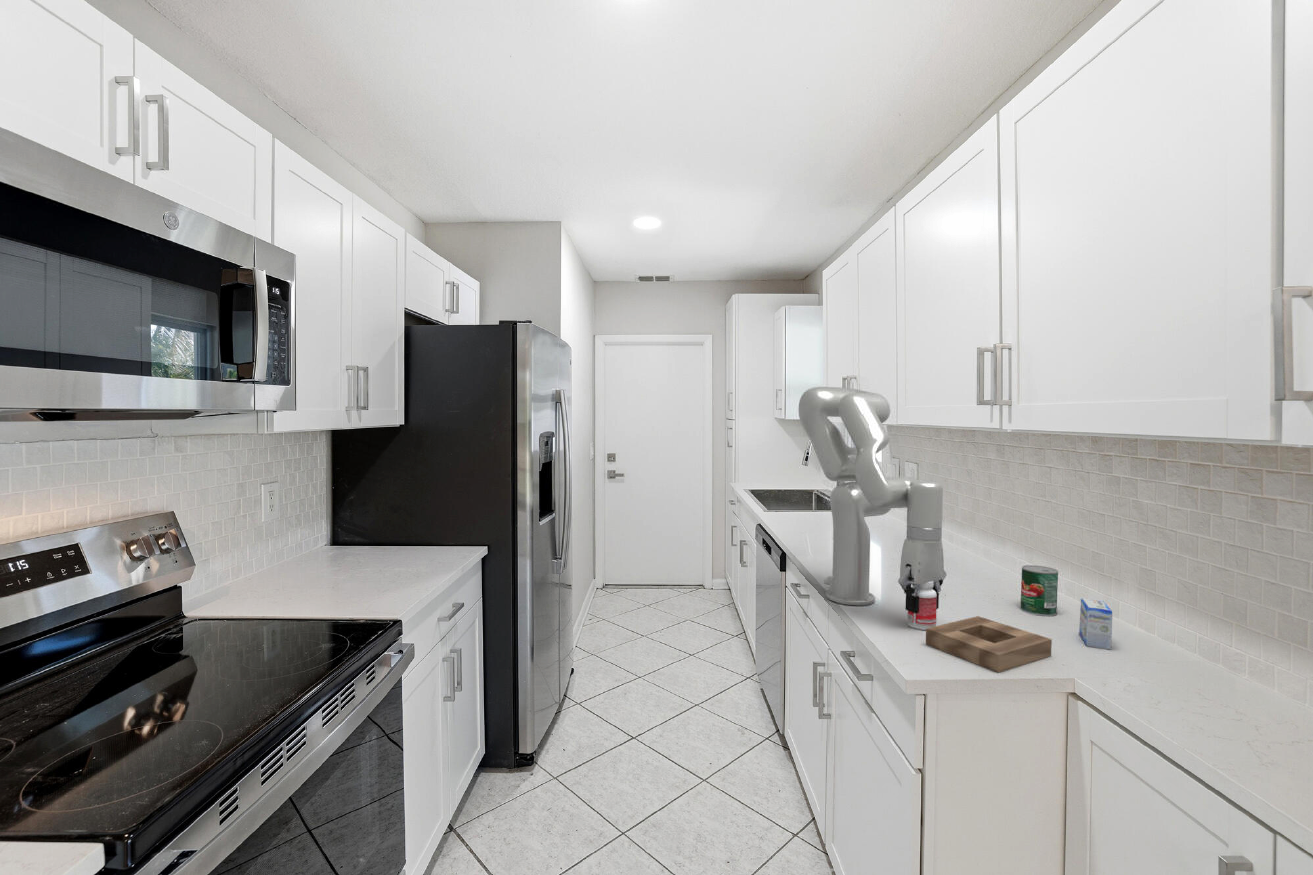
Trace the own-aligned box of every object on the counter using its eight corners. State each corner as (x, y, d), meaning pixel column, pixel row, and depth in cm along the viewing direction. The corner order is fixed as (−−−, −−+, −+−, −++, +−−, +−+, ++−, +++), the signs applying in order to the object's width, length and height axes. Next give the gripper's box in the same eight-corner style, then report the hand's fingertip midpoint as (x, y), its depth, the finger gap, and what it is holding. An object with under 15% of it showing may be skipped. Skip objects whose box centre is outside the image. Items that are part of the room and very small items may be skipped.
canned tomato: (1015, 610, 152) (1016, 567, 152) (1027, 604, 157) (1028, 563, 156) (1050, 618, 146) (1051, 574, 145) (1061, 612, 151) (1063, 569, 150)
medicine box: (1078, 634, 135) (1080, 597, 134) (1102, 638, 133) (1104, 600, 132) (1086, 646, 128) (1087, 607, 127) (1111, 650, 126) (1113, 610, 125)
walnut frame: (925, 644, 128) (926, 628, 128) (977, 631, 136) (978, 616, 136) (998, 672, 114) (998, 654, 114) (1051, 655, 122) (1051, 639, 122)
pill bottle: (941, 627, 138) (942, 581, 138) (926, 632, 135) (927, 584, 134) (917, 620, 143) (918, 574, 143) (901, 624, 140) (902, 578, 140)
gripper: (934, 528, 146) (932, 600, 146) (885, 533, 138) (883, 610, 138) (962, 533, 139) (960, 609, 140) (912, 539, 131) (910, 620, 131)
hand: (922, 608), depth 139 cm, fingers closed on pill bottle, 6 cm apart
